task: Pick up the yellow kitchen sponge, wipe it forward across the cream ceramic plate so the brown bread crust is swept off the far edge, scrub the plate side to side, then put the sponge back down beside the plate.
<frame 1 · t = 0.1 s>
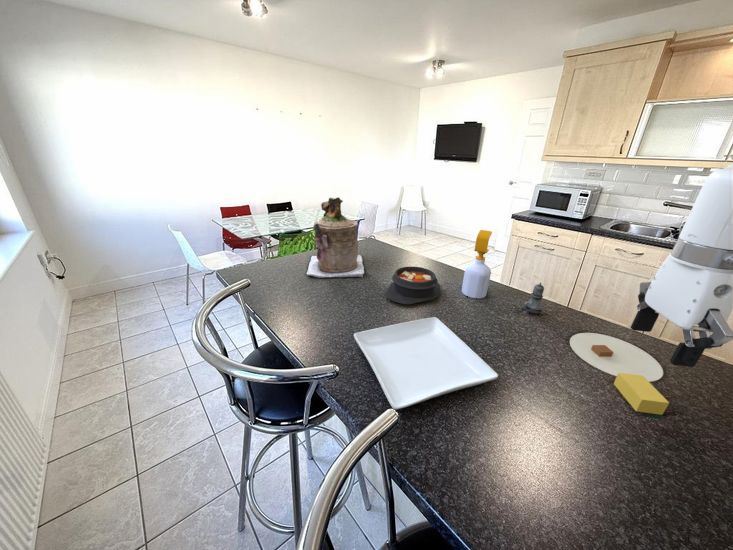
hand: (658, 346, 52), 20 cm above the kitchen island, tool pointing down, fingers open, 9 cm apart
square plate: (418, 363, 76), on the kitchen island
cookie jar: (336, 268, 134), on the kitchen island
soap bottle: (473, 294, 113), on the kitchen island
casserole: (413, 294, 112), on the kitchen island
sponge: (634, 402, 66), on the kitchen island
plate: (611, 357, 80), on the kitchen island
crust: (601, 353, 80), point 1 cm above the kitchen island, touching plate
grey chess piece: (531, 314, 100), on the kitchen island
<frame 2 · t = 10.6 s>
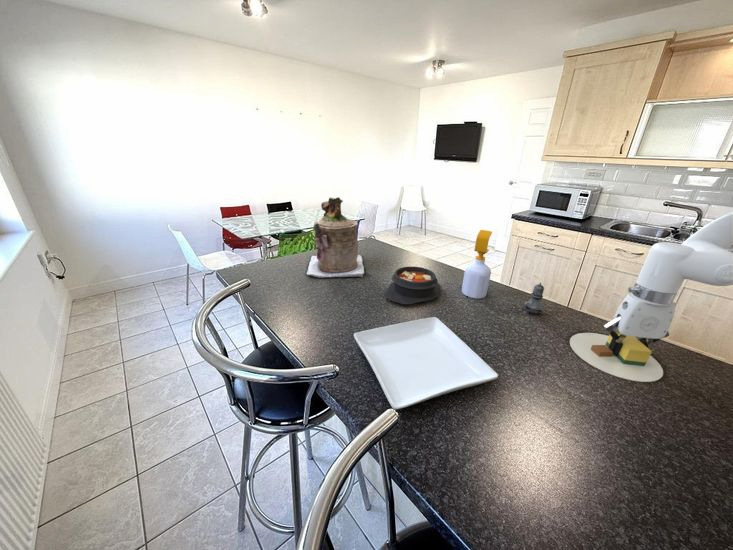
hand: (624, 353, 79), 2 cm above the kitchen island, tool pointing down, fingers closed on sponge, 5 cm apart
sponge: (623, 355, 79), point 1 cm above the kitchen island, touching gripper
crust: (600, 352, 80), point 1 cm above the kitchen island, touching gripper
everything else where it was.
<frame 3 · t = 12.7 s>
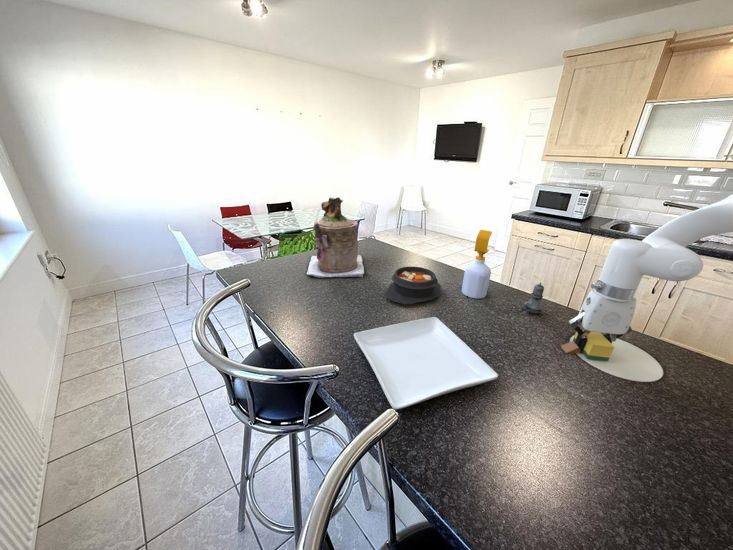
hand: (590, 348, 80), 2 cm above the kitchen island, tool pointing down, fingers closed on sponge, 5 cm apart
sponge: (589, 350, 80), point 2 cm above the kitchen island, touching gripper
crust: (571, 350, 81), point 1 cm above the kitchen island, tilted 38°, touching gripper
everything else where it was.
when the fingers open (1 cm above the kitchen island, at t = 26.0 s): sponge stays where it is, on the kitchen island.
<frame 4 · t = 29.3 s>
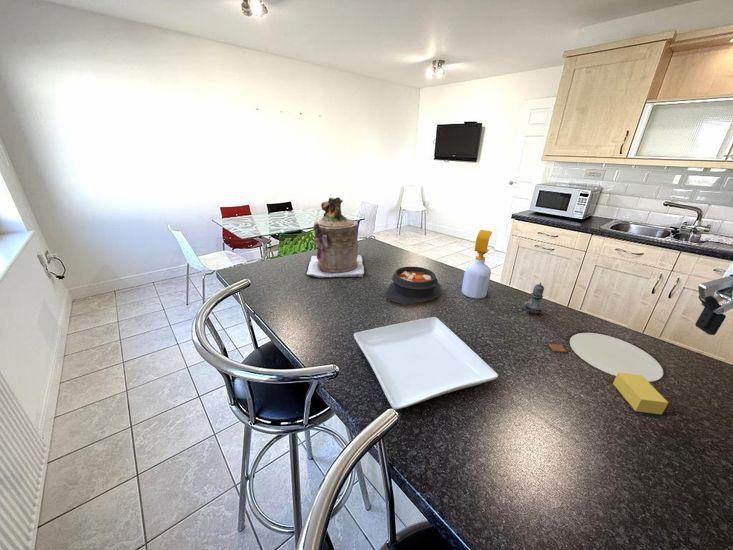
sponge: (633, 402, 66), on the kitchen island
crust: (556, 351, 82), on the kitchen island
everything else where it was.
at the end: crust inside the target area on the kitchen island beside the plate (3.2 cm from its centre), on the kitchen island; sponge inside the target area on the kitchen island beside the plate (0.9 cm from its centre), on the kitchen island; the gripper is holding nothing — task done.
